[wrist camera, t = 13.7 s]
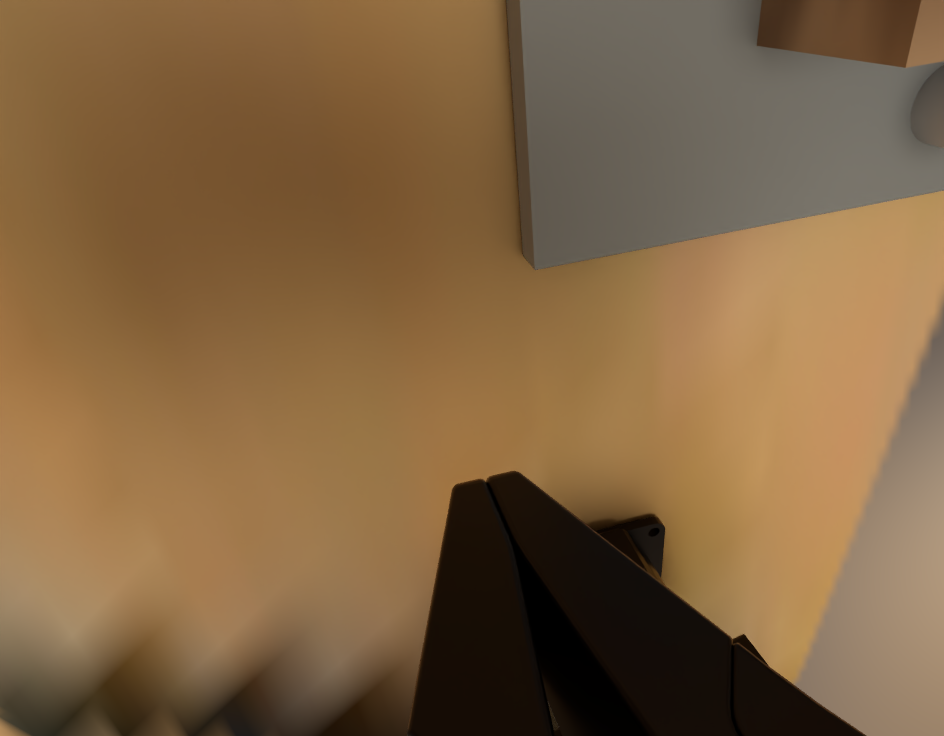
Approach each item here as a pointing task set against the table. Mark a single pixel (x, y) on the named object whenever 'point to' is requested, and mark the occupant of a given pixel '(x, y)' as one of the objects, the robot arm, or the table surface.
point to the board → (699, 126)
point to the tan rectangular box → (857, 29)
